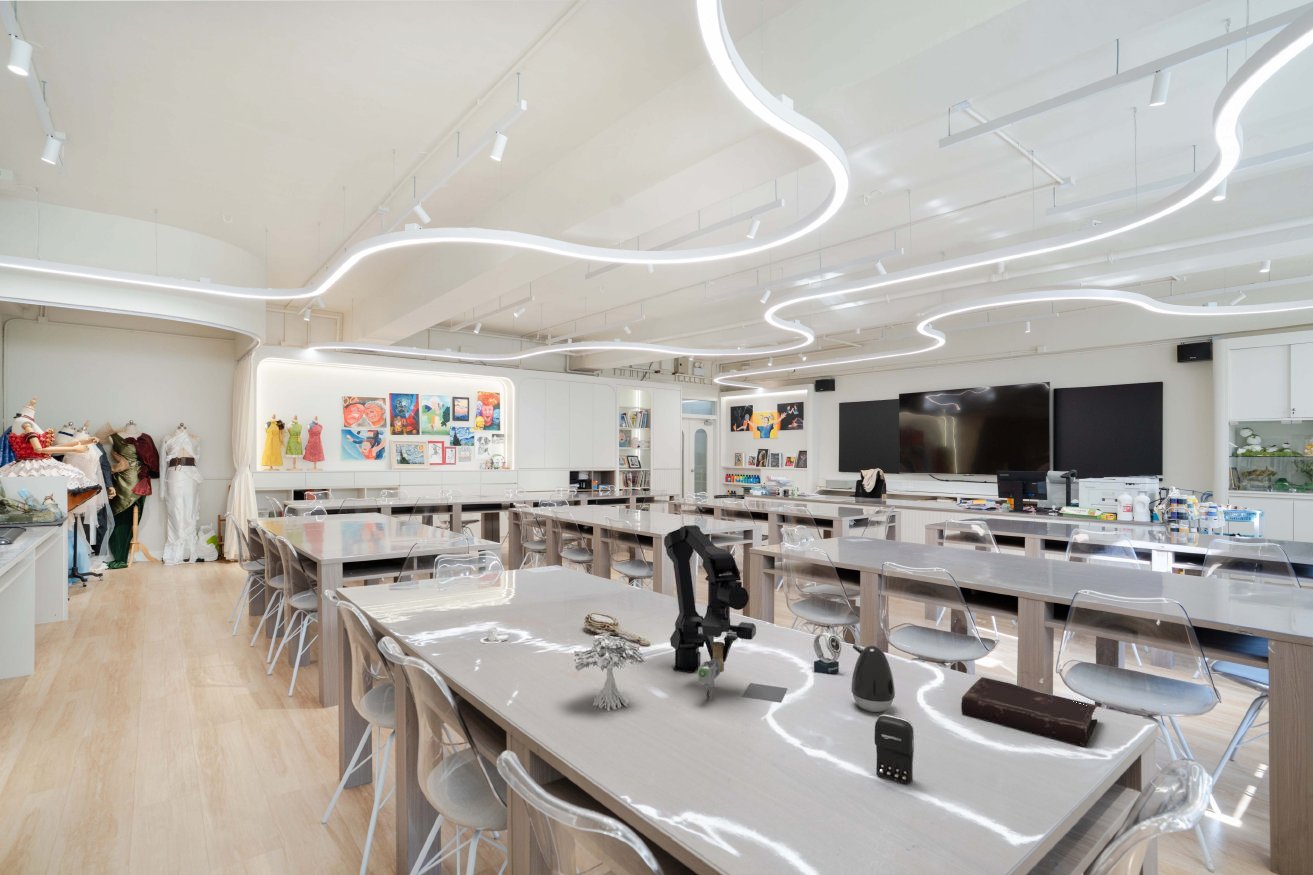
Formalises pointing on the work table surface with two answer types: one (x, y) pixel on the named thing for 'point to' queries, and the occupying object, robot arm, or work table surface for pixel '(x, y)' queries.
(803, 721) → the work table surface
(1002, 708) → the diary
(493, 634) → the teacup and saucer
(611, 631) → the hand mirror
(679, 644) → the robot arm
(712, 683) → the mechanical component
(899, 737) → the battery charger
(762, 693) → the mat
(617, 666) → the tree
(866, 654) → the pump dispenser
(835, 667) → the watch
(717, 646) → the dowel
